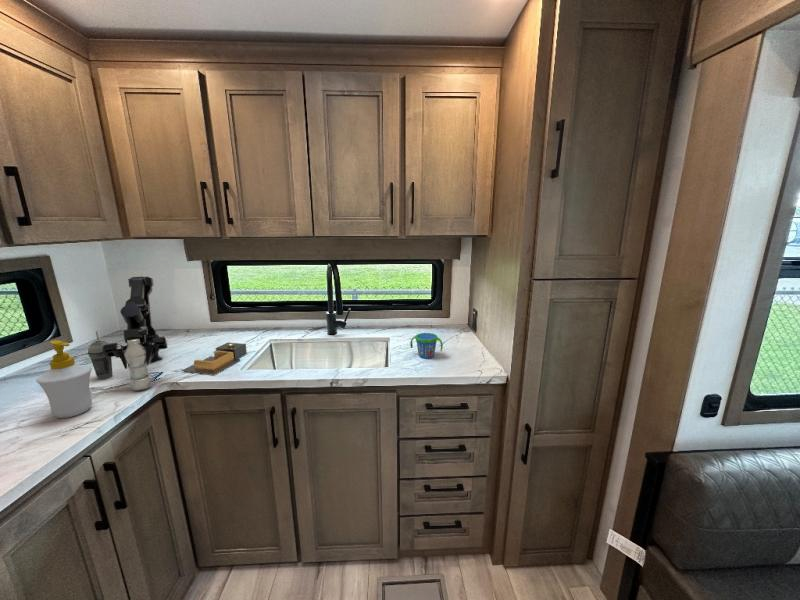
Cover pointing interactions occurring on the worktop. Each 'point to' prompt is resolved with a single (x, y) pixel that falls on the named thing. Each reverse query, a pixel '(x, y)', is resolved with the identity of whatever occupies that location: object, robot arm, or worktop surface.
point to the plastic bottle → (137, 365)
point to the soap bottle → (66, 384)
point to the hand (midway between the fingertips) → (136, 366)
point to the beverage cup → (100, 359)
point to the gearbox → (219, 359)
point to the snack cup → (426, 344)
